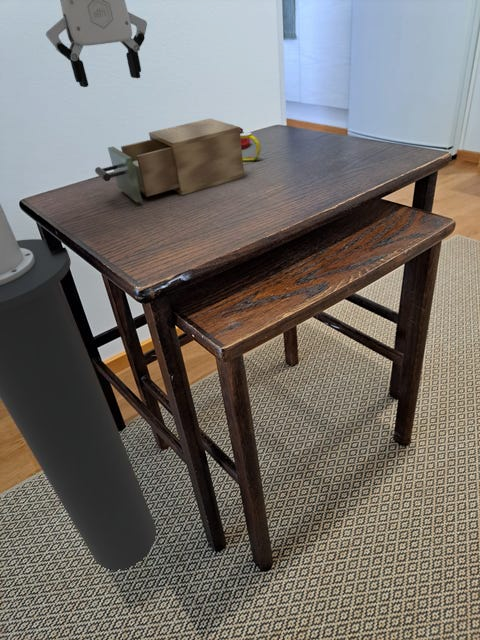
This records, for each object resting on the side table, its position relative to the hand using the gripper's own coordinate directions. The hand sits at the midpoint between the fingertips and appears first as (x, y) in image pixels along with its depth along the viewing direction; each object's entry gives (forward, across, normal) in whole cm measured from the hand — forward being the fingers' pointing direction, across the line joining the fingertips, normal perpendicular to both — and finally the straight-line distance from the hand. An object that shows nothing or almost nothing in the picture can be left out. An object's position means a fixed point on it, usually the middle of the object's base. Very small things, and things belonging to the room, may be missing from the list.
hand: (110, 81), depth 80 cm
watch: (+21, +29, +2) cm, 36 cm away
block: (+19, +3, 0) cm, 19 cm away
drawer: (+20, +3, 0) cm, 20 cm away
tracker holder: (+21, +35, +17) cm, 44 cm away
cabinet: (+21, +15, 0) cm, 26 cm away
